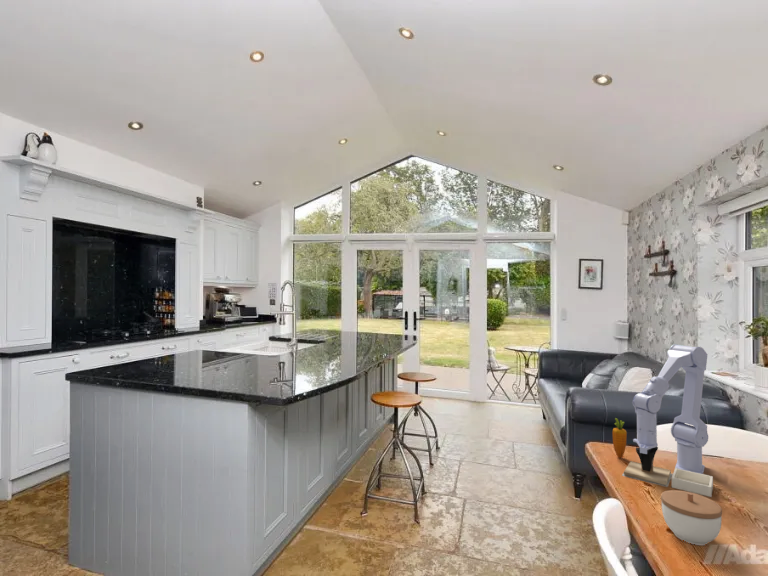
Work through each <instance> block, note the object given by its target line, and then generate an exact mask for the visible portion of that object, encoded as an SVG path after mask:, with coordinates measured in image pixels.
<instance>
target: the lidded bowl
mask: <svg viewBox="0 0 768 576" xmlns="http://www.w3.org/2000/svg"><path fill="white" fill-rule="evenodd" d="M660 500H661V501H660V502H661V511H662V516H663V519H664V521H665V523H666V525H667V527H668V528H669V529H670V530H671V531H672V532H673V534H674V536H675V537H676V538H678V539H679V540H681V541H683V540H684V541H683V542H685V541H686V542H685V543H687V542H688V544H690V543H691V545H694V544H695V546H706V545H705V544H707V543H708V542H709V543H711V542H713V541H715V539H716V538H717V537H718V536H719V534H720V531H721V528H722V520H723V519H722V515H723V509H722V506H720V504H718V503H717V502H716V501H714V500H713V499H711V498H710V497H708V496H704V495H700V494H696V493H692V492H688V491H684V490H680V489H677V490H675V489H671V490H665V491H662V493H660ZM709 543H708V544H709ZM708 544H707V545H708Z"/></svg>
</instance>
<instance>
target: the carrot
mask: <svg viewBox="0 0 768 576" xmlns="http://www.w3.org/2000/svg"><path fill="white" fill-rule="evenodd" d="M614 420H615V423H614V425H615V427H613V429H612V444H613V448H614V449H613V450H614V452H615V454H616V456H617V458H619V459H622V458H623V456H624V454H625V453H626V452H625V451H626V447H627V434H628V432H627V430H626V429H624V428H623V427H624V424H625V421H623V420H619V419H618V418H616V417H615V418H614Z"/></svg>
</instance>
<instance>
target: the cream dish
mask: <svg viewBox="0 0 768 576" xmlns="http://www.w3.org/2000/svg"><path fill="white" fill-rule="evenodd" d="M671 488H672V489H677V490H680V491H687V492H691V493H695V494H698V495H701V496H704V497H707V498H712V496H713V495H712V494H713V490H714V489H713V488H714V476H712V475H709V474H705V473H703V474H700V473H695V472H691V471H686V470H682V469H677V468H675V467H674V470H673V473H672V477H671Z"/></svg>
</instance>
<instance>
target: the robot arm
mask: <svg viewBox="0 0 768 576" xmlns="http://www.w3.org/2000/svg"><path fill="white" fill-rule="evenodd" d="M666 354H667V355H666V356H667V360H666V361H665V363H664V364H663V366H662V368H661V370H659V373H658V374H657V375H656V376H652V377H651V378H650V380H649V382H647V384H646V385H645V386H644V388H643V390H641V392H638V393H637V394H635V395H634V396H633V398H632V401H631V404H632V406H633V407H634V413H635V415H636V438H633V439H632V441H633V443H636V444H637V446H638V447H636V448H635V452H636V453H637V455H638V457H639V460H640V463H641V465H642V469H643V470H645V471H649V472H650V470H651V465H652V460H653V462H654V459H655V456H656V453H657V451H658V450H659V447H658V439H657V438H658V437H657V436H658V435H657V433H658V431H657V412H659V411H660V410H661V406H662V401H663V399H662V398H664V395H665V394H666V393H667V392H668V390H669V389H670V383H669V382H670V380H671V379H672V378H673V377H674V375H676V374H677V372H678V371H679V370H680V369H681V368H682V369H683V370H684V371H685V376H684V383H683V385H684V386H683V394H682V404H681V414H680V415H677V416H675V417H674V418H673V423H672V425H671V428H670V433H671V436H672V437H673V438H674V441H675V442H676V450H677V451H676V455H677V456H676V457H677V458H676V460H677V461H676V464H675V466H674V469H675V468H677V469H682V470H686V471H691V472H695V473H700V474H704V471H705V466H706V465H704V464H703V447H705V446H706V445H707V444H708V442H709V434H708V425H707V424H706V423H705V422H704V421H703V420H702V419H701V418H700V417H701V407H702V397H703V389H704V387H703V386H704V379H705V371H707V364H708V353H707V352H706V350H705V349H704V348H703V347H701V346H691V345H683V344H677V343H673V344H672V345H671V346H670V347H669V349H668V350H667V352H666Z"/></svg>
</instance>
